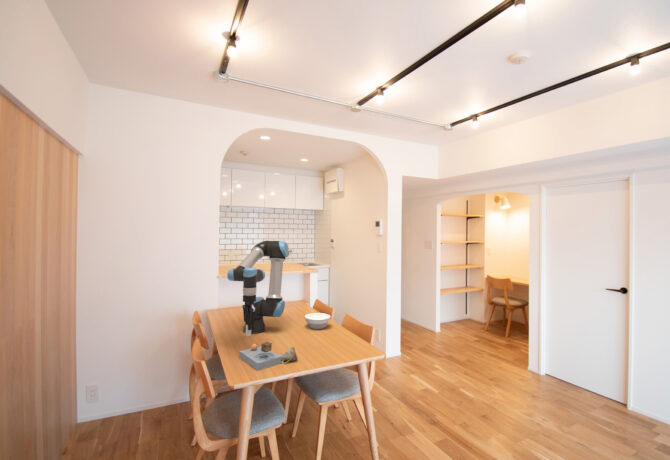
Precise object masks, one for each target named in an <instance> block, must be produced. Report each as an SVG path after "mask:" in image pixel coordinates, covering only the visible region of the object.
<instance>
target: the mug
mask: <svg viewBox="0 0 670 460" xmlns="http://www.w3.org/2000/svg"><path fill="white" fill-rule="evenodd" d="M279 355H280V356H281V364H282V365H286V364H288V363H289V362H293V361H296V360H298V356H297V352H296V349H295V346H291V347H289V348H288V349H286V351H284V352H282V353H280V354H279Z"/></svg>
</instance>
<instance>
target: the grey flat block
mask: <svg viewBox="0 0 670 460" xmlns="http://www.w3.org/2000/svg"><path fill="white" fill-rule="evenodd" d="M238 357H239V358H240V359H241V360H242V361H244V362H245V363H246V364H248V365H249V366H250V367H252V368H254V369H255V370H257V371H261V370H263V369H266V368H269V367H274V366H276V365H279V364H282V361H281V356H280V354H278V353H276V352H274V351H273V350H271V351H269V352H263V351H261V345H259V346H258V345H257V349H256V350H252V349H251V347H250V348H247V349H244V350H243V349H242V350H239V356H238Z"/></svg>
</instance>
